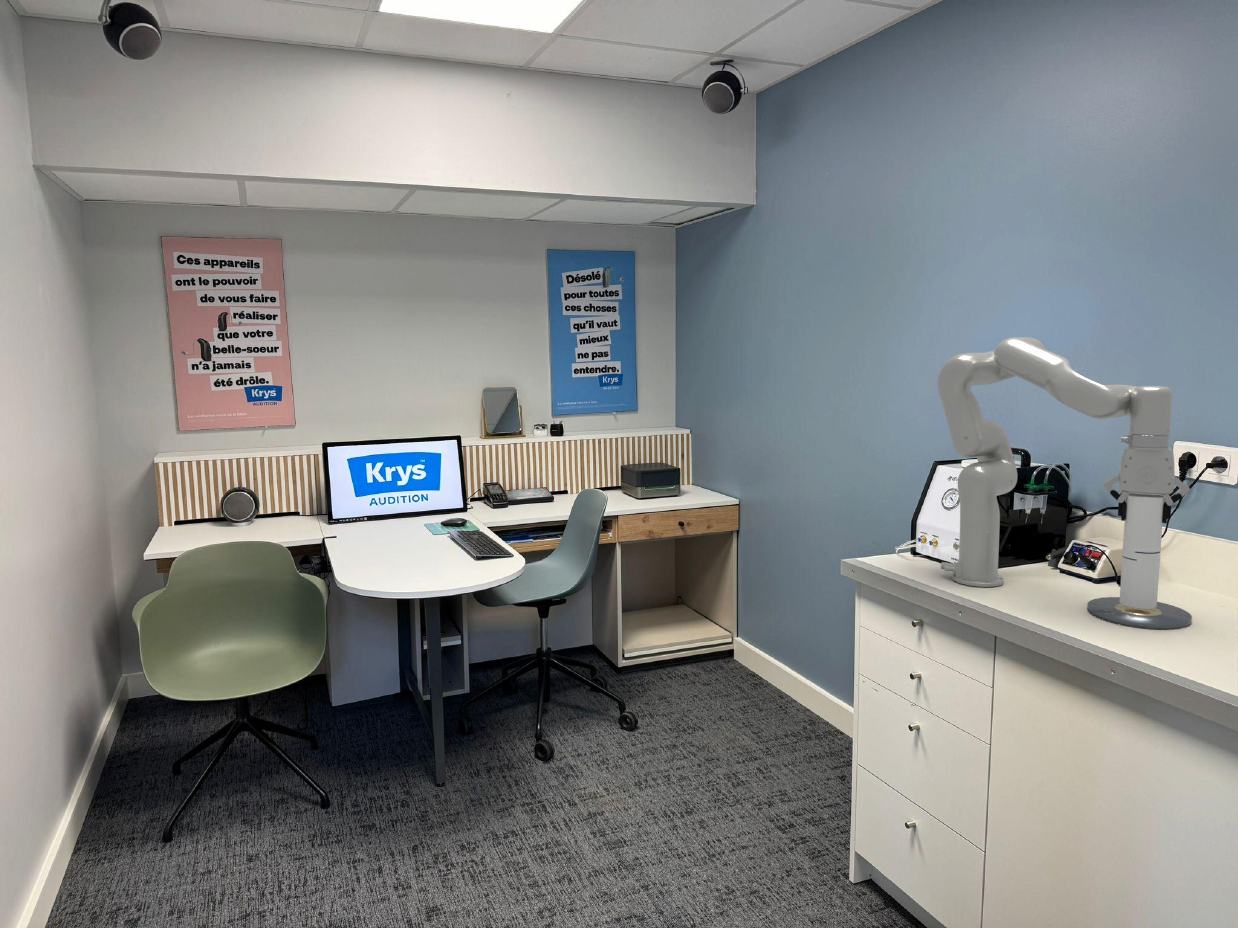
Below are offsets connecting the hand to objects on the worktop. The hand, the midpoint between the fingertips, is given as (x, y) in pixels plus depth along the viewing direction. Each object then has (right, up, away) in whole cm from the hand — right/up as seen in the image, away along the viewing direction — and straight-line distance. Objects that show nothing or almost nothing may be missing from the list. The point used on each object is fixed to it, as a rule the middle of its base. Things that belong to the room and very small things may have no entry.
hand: (1143, 520), depth 182 cm
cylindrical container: (0, -19, +3) cm, 19 cm away
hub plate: (+1, -22, +3) cm, 22 cm away
